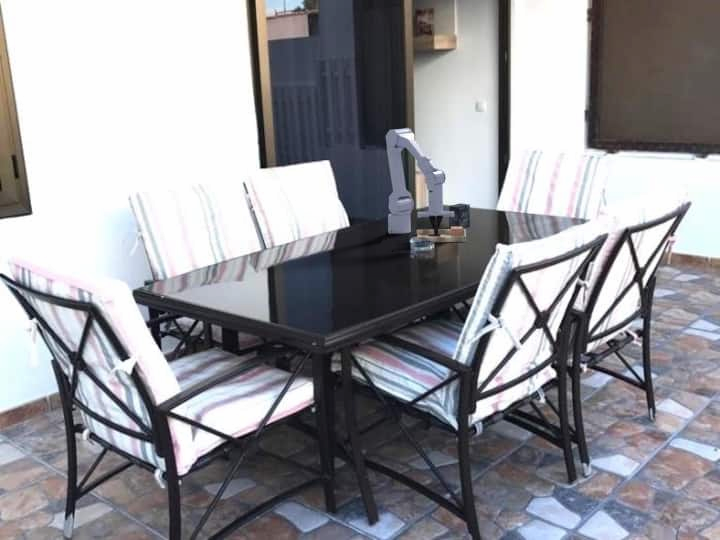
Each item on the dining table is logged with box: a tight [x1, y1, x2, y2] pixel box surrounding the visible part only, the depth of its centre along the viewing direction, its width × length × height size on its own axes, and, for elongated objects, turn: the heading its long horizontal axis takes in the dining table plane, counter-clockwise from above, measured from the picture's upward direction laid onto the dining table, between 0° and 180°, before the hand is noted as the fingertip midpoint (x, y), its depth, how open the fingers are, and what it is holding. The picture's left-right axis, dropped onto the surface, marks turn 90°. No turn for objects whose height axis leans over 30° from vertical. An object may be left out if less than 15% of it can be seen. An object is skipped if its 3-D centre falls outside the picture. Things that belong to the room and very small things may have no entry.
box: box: [448, 203, 471, 229], centre depth 315 cm, size 8×6×11 cm
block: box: [450, 226, 463, 237], centre depth 294 cm, size 4×4×4 cm
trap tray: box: [413, 228, 467, 243], centre depth 295 cm, size 20×16×3 cm
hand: (436, 234), depth 295 cm, fingers closed
